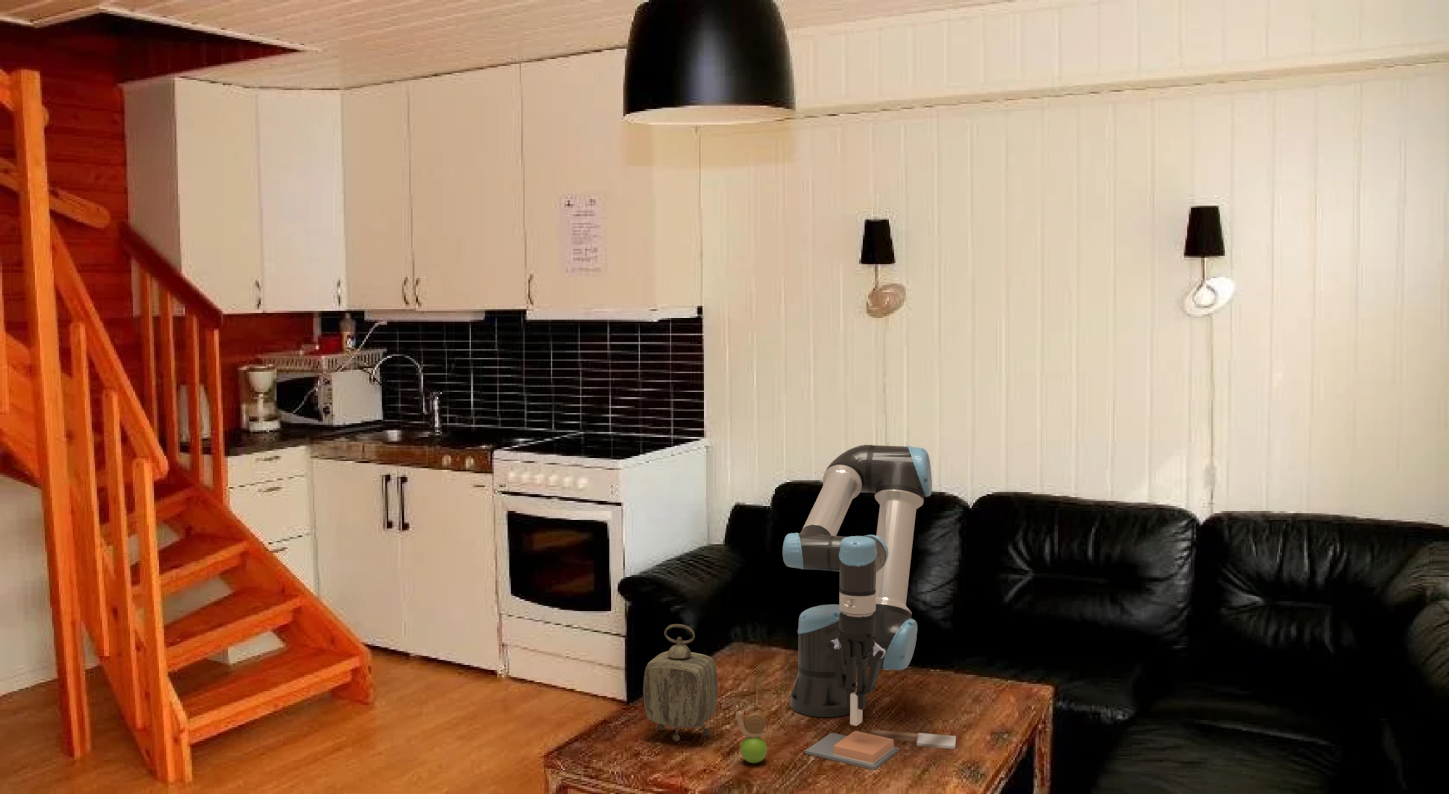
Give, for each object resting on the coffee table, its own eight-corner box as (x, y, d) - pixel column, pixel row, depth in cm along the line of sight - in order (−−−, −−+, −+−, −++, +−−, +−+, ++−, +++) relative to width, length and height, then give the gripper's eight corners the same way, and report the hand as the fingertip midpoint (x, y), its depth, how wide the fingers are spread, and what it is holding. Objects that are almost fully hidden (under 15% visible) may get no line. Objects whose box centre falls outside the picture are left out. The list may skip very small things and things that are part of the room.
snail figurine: (734, 757, 249) (734, 701, 248) (765, 756, 250) (765, 700, 249) (737, 768, 244) (737, 710, 243) (768, 767, 244) (768, 709, 243)
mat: (804, 753, 251) (804, 750, 251) (831, 735, 261) (831, 732, 261) (874, 770, 243) (874, 767, 243) (899, 750, 253) (899, 747, 253)
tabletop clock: (717, 734, 262) (717, 622, 260) (703, 750, 253) (703, 633, 251) (656, 726, 267) (655, 616, 264) (640, 741, 258) (639, 627, 256)
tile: (833, 745, 249) (872, 755, 244) (855, 730, 257) (893, 739, 252) (833, 755, 249) (872, 764, 244) (854, 739, 257) (893, 748, 252)
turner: (869, 741, 258) (869, 736, 258) (872, 731, 264) (872, 726, 264) (955, 749, 254) (955, 743, 254) (955, 738, 260) (956, 733, 260)
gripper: (820, 611, 249) (820, 722, 251) (878, 621, 242) (876, 735, 244) (837, 603, 255) (836, 711, 258) (893, 612, 248) (892, 723, 251)
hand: (856, 723), depth 251 cm, fingers closed
